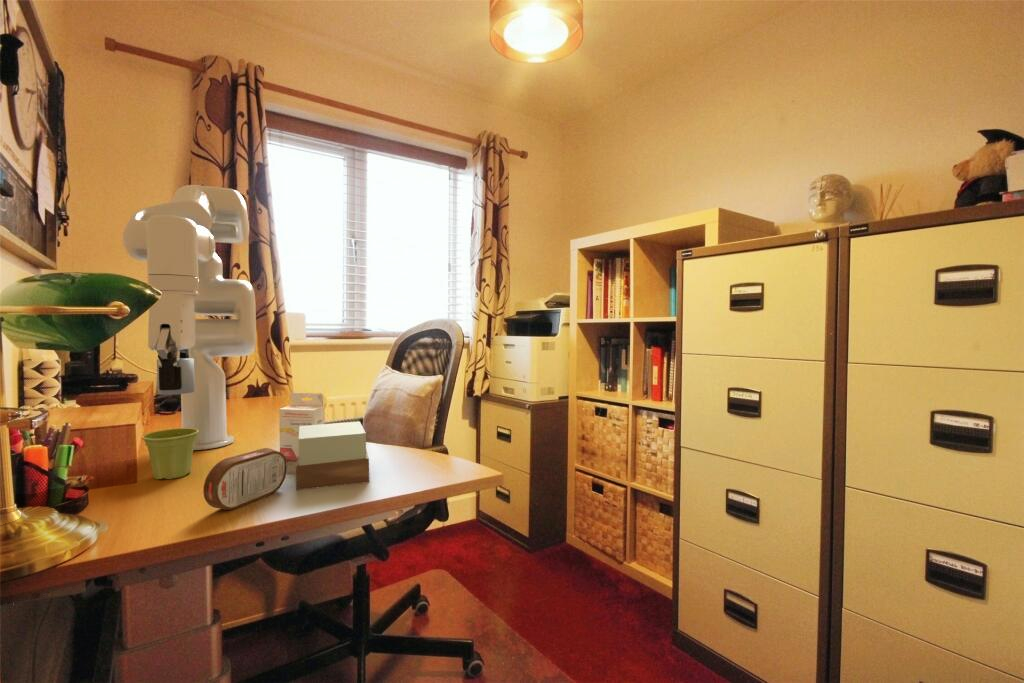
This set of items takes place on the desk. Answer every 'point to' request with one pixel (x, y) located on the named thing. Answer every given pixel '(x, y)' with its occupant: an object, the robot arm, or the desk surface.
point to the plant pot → (171, 451)
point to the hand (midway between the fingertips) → (176, 386)
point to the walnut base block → (332, 473)
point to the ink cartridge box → (298, 421)
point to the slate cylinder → (186, 377)
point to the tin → (245, 478)
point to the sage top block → (331, 443)
